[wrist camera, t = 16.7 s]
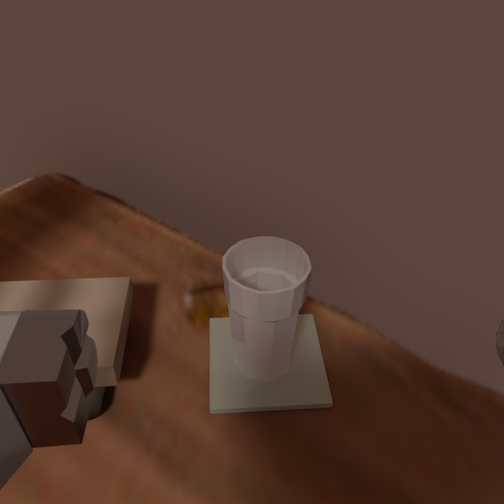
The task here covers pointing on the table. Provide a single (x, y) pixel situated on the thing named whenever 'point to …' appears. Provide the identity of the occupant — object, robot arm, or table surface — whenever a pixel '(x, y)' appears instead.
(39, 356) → the robot arm
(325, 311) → the table surface
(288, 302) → the cup
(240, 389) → the pad
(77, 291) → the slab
